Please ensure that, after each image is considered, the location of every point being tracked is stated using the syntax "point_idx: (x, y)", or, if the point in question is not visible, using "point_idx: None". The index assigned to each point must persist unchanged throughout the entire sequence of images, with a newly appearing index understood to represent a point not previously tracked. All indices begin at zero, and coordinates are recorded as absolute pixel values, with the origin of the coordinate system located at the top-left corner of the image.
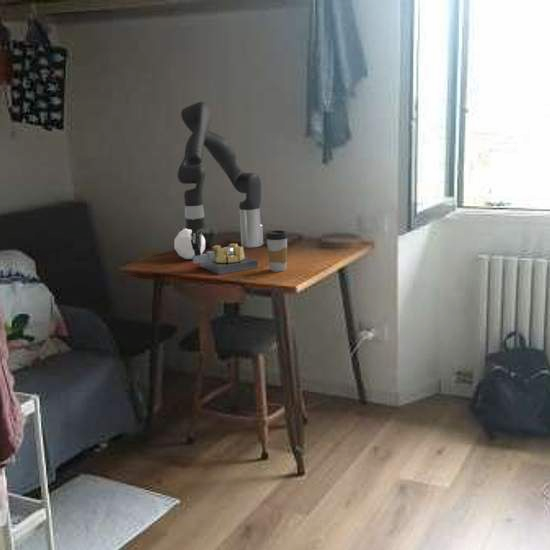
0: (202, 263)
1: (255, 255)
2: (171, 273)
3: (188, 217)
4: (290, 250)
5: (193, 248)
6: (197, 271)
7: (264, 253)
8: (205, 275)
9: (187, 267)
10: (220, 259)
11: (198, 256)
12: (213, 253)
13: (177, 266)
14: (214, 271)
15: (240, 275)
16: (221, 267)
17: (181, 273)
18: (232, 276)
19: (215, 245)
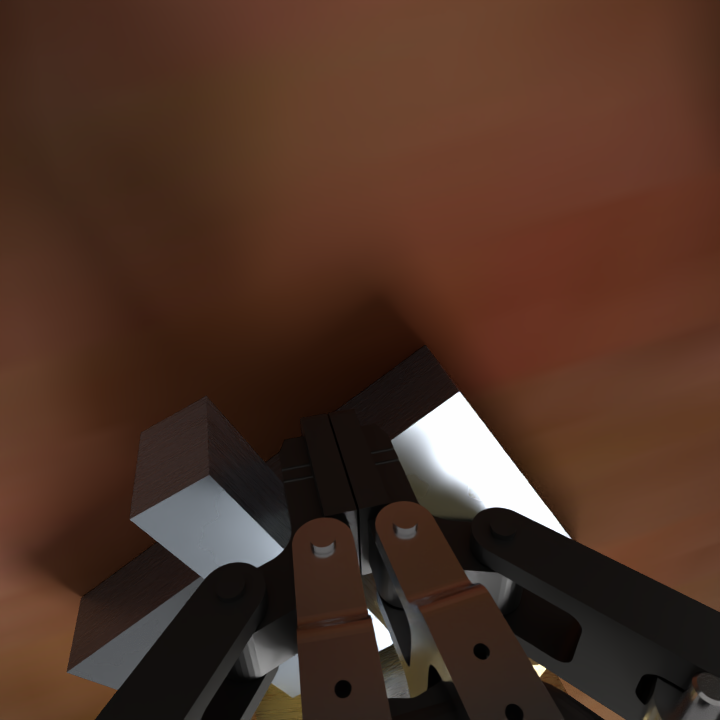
0: (398, 403)
1: (685, 580)
2: (32, 13)
3: None
4: None
5: (183, 622)
6: (205, 373)
7: (712, 601)
8: (15, 507)
9: (429, 192)
10: None
11: (180, 550)
12: (279, 682)
13: (521, 14)
14: (159, 548)
15: (80, 716)
16: (92, 671)
17: (64, 200)
18: (31, 691)
19: (541, 666)
